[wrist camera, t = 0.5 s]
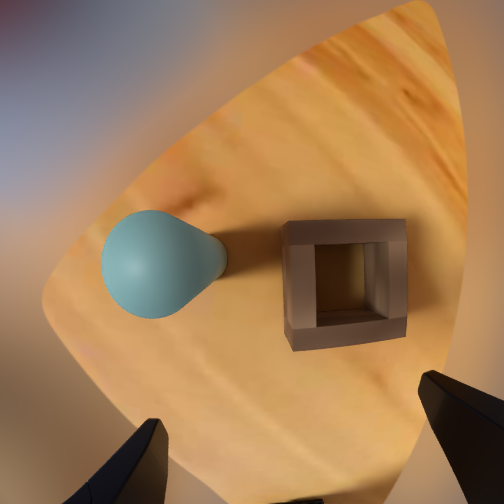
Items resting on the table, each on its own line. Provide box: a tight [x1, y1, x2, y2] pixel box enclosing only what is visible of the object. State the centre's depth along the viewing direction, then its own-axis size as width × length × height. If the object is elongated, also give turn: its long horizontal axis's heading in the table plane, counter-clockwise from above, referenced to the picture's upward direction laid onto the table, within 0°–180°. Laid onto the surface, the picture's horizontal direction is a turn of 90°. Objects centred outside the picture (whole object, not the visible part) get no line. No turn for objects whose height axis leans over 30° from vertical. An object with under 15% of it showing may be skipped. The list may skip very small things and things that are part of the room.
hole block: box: [281, 219, 408, 352], centre depth 20 cm, size 8×8×4 cm
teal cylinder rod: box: [101, 210, 228, 319], centre depth 16 cm, size 4×4×13 cm
